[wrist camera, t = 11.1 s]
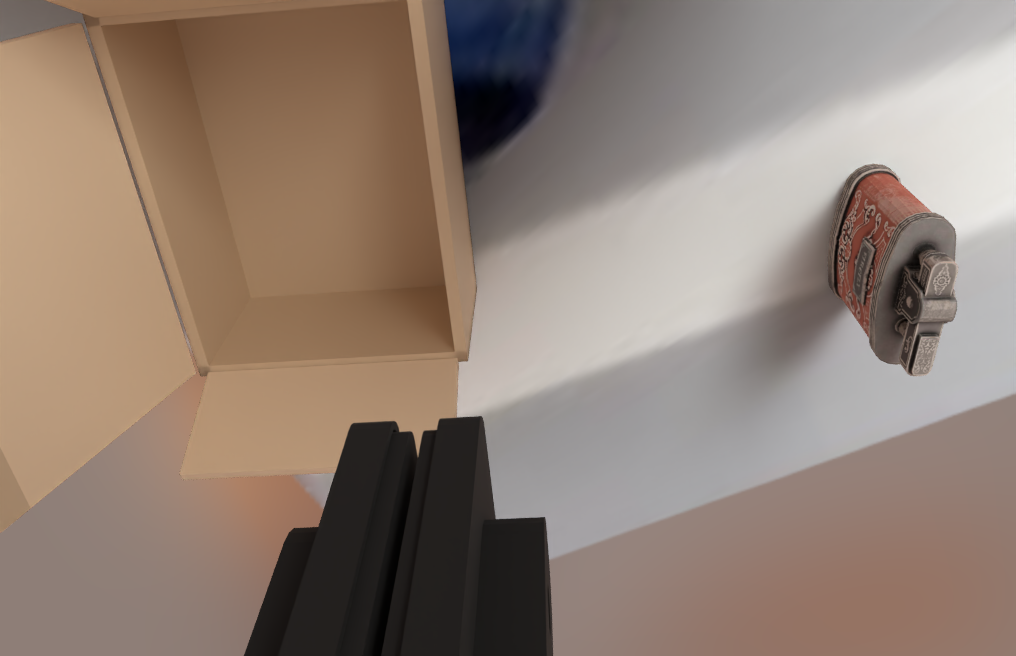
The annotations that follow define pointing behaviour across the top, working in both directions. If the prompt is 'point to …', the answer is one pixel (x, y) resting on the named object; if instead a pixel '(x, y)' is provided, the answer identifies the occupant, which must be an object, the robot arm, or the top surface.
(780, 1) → the top surface
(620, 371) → the top surface
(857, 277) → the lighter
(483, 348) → the top surface
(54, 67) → the lid flap
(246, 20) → the carton
